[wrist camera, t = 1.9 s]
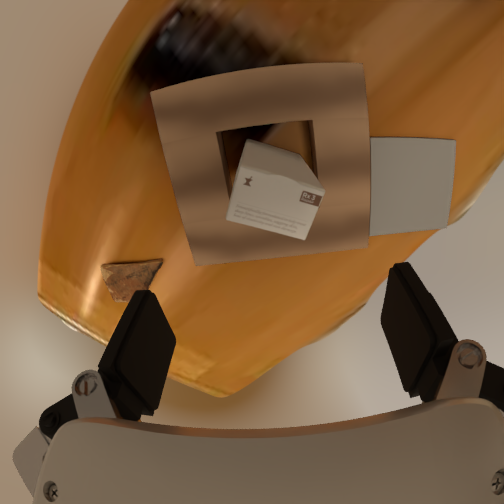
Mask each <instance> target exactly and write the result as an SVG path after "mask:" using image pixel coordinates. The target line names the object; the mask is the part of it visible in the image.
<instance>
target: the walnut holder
mask: <svg viewBox="0 0 504 504" xmlns="http://www.w3.org/2000/svg"><path fill="white" fill-rule="evenodd" d="M150 94H151V99H152V103H153V108H154V113H155V117H156V122H157V126H158V130H159V135H160V139H161V143H162V147H163V151H164V155H165V159H166V163H167V167H168V171H169V175H170V179H171V183H172V186H173V190H174V194H175V197H176V201H177V205H178V208H179V212H180V215H181V219H182V222H183V225H184V229H185V232H186V236H187V239H188V242H189V246H190V249H191V252H192V255H193V258H194V262H195V265H196V266H201V265H211V264H221V263H230V262H240V261H250V260H259V259H269V258H278V257H288V256H297V255H306V254H316V253H325V252H334V251H343V250H352V249H361V248H368V239H369V221H370V137H369V120H368V107H367V96H366V86H365V78H364V70H363V63H306V64H291V65H279V66H270V67H262V68H254V69H247V70H241V71H235V72H229V73H224V74H219V75H214V76H209V77H204V78H200V79H196V80H192V81H188V82H184V83H180V84H176V85H173V86H169V87H166V88H162V89H159V90H156V91H152V92H150ZM302 120H308V123H309V131H310V141H311V150H312V161H313V173H314V175H315V176H316V178H317V179H318V181H319V182H320V184H321V185H322V186H323V188H324V189H325V194H324V196H323V199H322V201H321V203H320V206H319V208H318V211H317V213H316V215H315V218H314V220H313V223H312V225H311V228H310V230H309V232H308V235H307V237H306V239H305V240H302V239H298V238H294V237H290V236H287V235H283V234H279V233H275V232H272V231H268V230H264V229H260V228H256V227H252V226H248V225H244V224H240V223H236V222H232V221H228V220H226V213H227V209H228V206H229V201H230V197H231V193H232V185H231V180H230V175H229V169H228V164H227V159H226V154H225V149H224V143H223V138H222V133H221V131H225V130H231V129H237V128H243V127H250V126H257V125H264V124H272V123H281V122H291V121H302Z"/></svg>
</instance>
